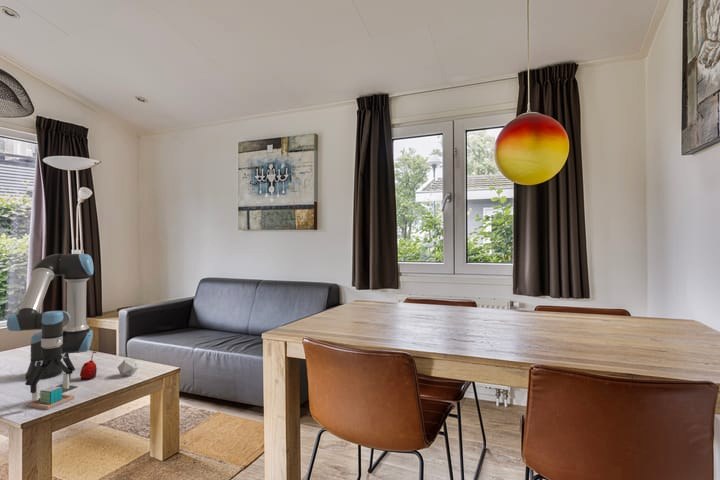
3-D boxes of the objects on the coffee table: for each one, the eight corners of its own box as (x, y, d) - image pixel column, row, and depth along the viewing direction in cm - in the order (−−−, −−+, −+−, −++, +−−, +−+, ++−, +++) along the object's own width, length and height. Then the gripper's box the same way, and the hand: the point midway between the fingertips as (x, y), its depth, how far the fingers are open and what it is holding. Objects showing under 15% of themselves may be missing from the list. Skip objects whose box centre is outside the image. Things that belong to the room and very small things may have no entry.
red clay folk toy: (86, 375, 208) (86, 347, 208) (99, 375, 209) (100, 347, 209) (77, 381, 200) (77, 352, 200) (91, 381, 201) (92, 351, 201)
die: (123, 380, 204) (136, 363, 207) (110, 370, 206) (124, 354, 209) (131, 380, 212) (144, 364, 215) (119, 371, 214) (132, 355, 217)
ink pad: (40, 393, 184) (40, 390, 184) (61, 385, 194) (61, 383, 194) (60, 396, 181) (60, 393, 181) (80, 388, 191) (80, 386, 191)
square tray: (26, 406, 170) (26, 403, 170) (54, 395, 182) (54, 392, 182) (47, 409, 167) (47, 406, 167) (74, 398, 179) (74, 395, 179)
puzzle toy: (50, 404, 171) (50, 391, 171) (39, 403, 173) (39, 390, 173) (62, 399, 177) (62, 387, 177) (52, 398, 178) (52, 385, 178)
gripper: (28, 355, 162) (27, 406, 162) (84, 340, 186) (83, 384, 186) (15, 353, 163) (14, 403, 164) (72, 338, 188) (71, 382, 188)
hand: (51, 393), depth 175 cm, fingers open, 13 cm apart
